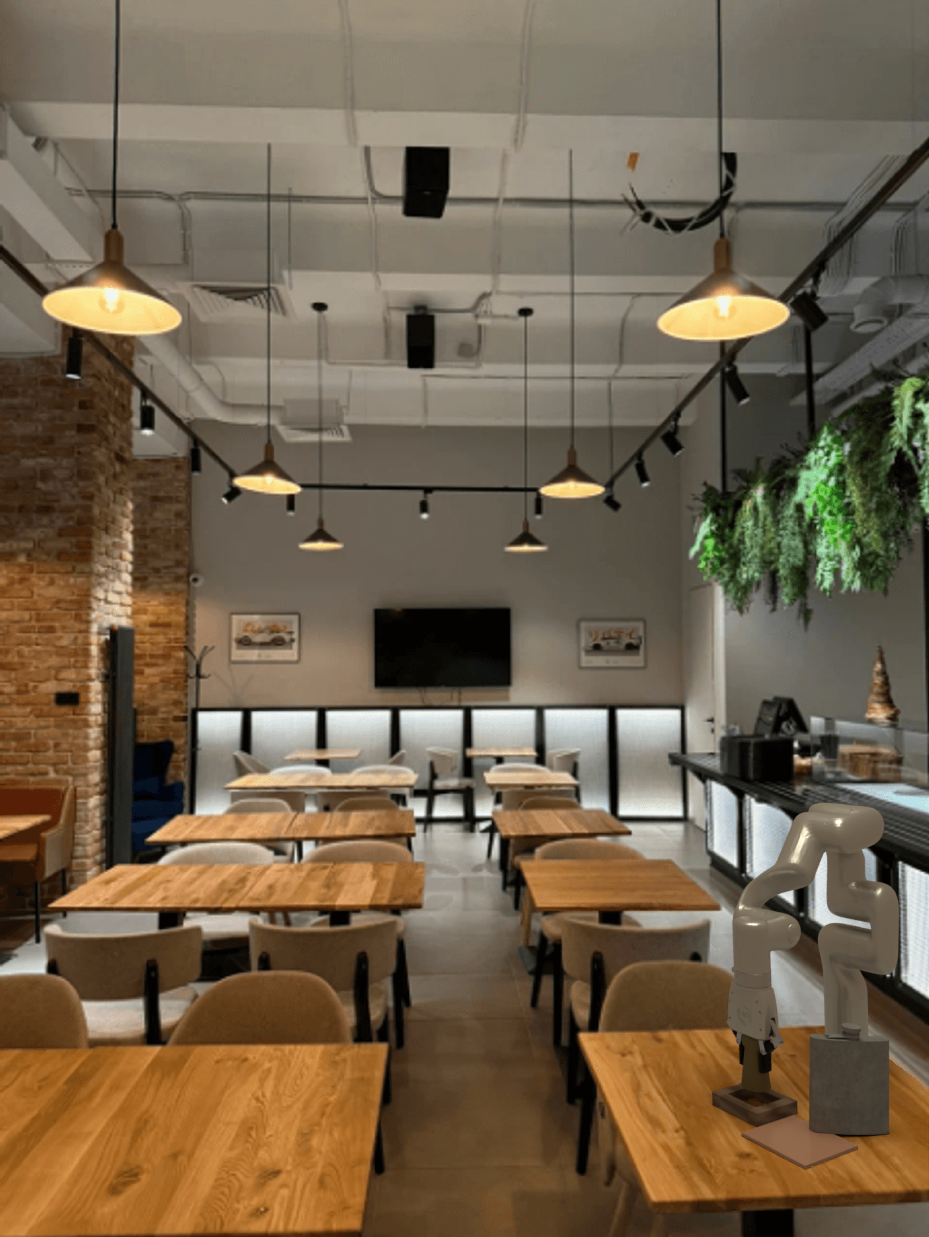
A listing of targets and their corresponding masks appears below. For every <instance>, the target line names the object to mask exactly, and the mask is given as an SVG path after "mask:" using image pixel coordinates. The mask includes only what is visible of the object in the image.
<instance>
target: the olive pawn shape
mask: <svg viewBox="0 0 929 1237" xmlns="http://www.w3.org/2000/svg"><path fill="white" fill-rule="evenodd" d="M742 1044H743V1046H744V1047H745V1050H744V1060H743V1065H742V1072H741V1073H742V1074H741V1082H740V1084H741V1086H742V1087H743V1088H744V1089H746V1090H749V1091H752V1092H767V1091H769V1090H771V1089H772V1083H771V1078H770V1077H771V1076H770V1072H767V1073H764V1074H761V1073H759V1059H758V1054H759V1053H761V1051H760V1046H759V1041H758V1040H756V1039H754V1038H751V1037H749V1036H746V1035H744V1034H742ZM765 1045H767V1042H766V1041H765Z"/></svg>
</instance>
